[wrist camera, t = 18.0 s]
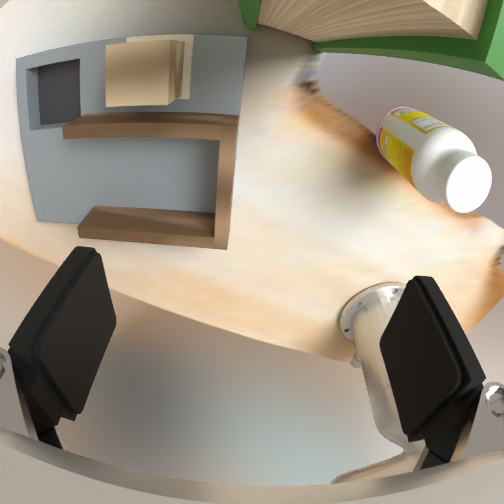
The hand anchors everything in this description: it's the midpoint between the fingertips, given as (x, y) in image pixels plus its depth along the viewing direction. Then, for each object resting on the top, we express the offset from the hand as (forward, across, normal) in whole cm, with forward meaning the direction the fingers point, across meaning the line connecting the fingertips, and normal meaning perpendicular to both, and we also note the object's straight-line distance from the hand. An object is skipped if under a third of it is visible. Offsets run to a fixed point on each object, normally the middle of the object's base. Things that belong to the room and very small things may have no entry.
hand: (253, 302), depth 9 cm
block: (+21, +9, -6) cm, 23 cm away
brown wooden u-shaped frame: (+22, +9, +4) cm, 24 cm away
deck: (+24, +14, +1) cm, 27 cm away
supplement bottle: (+25, -15, -2) cm, 29 cm away
